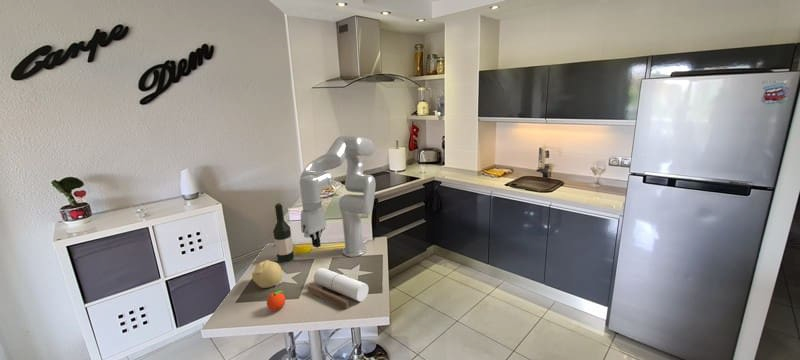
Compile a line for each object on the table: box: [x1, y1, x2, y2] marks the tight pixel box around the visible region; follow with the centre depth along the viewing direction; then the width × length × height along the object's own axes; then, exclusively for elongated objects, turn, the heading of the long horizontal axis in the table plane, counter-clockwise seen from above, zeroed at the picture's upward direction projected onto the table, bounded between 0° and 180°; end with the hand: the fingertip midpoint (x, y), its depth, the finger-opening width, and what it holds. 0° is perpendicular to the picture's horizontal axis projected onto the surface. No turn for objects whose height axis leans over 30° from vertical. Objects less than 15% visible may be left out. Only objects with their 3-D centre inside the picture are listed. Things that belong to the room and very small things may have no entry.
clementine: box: [266, 290, 286, 312], centre depth 130 cm, size 8×7×7 cm
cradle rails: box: [307, 284, 350, 310], centre depth 139 cm, size 13×22×3 cm, turn 56°
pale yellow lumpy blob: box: [251, 259, 283, 289], centre depth 147 cm, size 11×12×11 cm
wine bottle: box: [272, 203, 295, 264], centre depth 166 cm, size 8×8×30 cm
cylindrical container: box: [313, 267, 369, 302], centre depth 139 cm, size 7×7×25 cm
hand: (316, 246), depth 140 cm, fingers closed
